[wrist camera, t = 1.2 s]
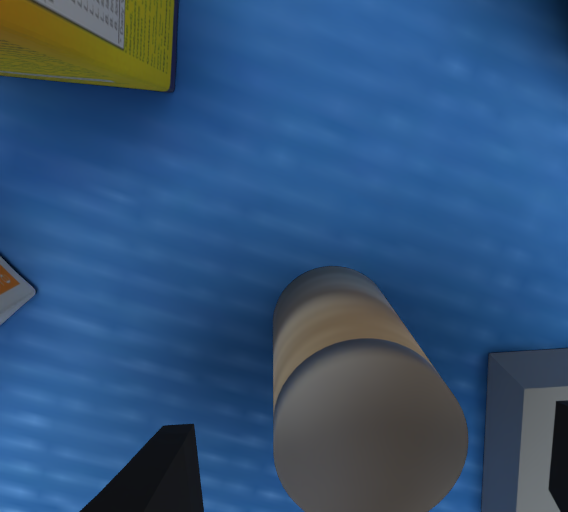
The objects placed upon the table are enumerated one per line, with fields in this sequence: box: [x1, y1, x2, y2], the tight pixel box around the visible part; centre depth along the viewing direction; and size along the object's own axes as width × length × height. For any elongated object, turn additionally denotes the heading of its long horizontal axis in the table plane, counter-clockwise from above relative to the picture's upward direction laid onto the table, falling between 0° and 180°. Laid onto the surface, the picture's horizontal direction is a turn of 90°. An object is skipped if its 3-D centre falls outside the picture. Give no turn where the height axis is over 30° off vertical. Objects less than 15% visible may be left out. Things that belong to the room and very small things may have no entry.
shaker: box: [273, 266, 468, 512], centre depth 13 cm, size 4×4×7 cm
